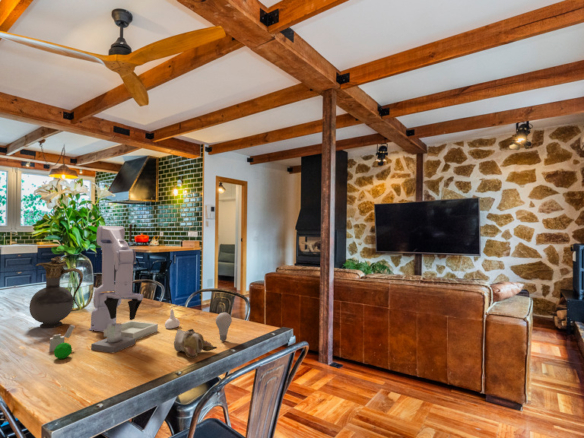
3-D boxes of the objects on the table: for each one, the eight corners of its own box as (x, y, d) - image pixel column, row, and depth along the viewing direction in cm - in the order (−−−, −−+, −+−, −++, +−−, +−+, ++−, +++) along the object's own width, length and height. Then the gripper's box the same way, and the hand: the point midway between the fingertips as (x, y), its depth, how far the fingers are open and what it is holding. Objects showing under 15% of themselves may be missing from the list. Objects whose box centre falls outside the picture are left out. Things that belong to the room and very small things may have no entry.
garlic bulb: (174, 330, 144) (175, 311, 144) (161, 328, 145) (162, 310, 145) (182, 326, 150) (182, 308, 150) (169, 325, 151) (170, 307, 151)
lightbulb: (234, 339, 132) (234, 311, 132) (226, 344, 126) (226, 315, 126) (220, 337, 134) (221, 310, 134) (212, 342, 128) (212, 313, 128)
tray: (103, 337, 132) (104, 329, 132) (130, 327, 145) (130, 320, 146) (132, 341, 128) (132, 333, 128) (157, 331, 141) (157, 323, 141)
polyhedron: (68, 354, 114) (69, 339, 114) (74, 357, 111) (74, 343, 111) (51, 358, 110) (52, 343, 110) (56, 362, 107) (56, 346, 107)
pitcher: (27, 326, 145) (30, 256, 147) (79, 319, 158) (81, 255, 159) (29, 332, 137) (32, 258, 138) (83, 324, 150) (86, 256, 151)
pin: (106, 347, 121) (107, 325, 121) (113, 344, 124) (114, 322, 124) (113, 348, 120) (114, 326, 120) (120, 345, 123) (121, 323, 123)
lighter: (49, 351, 116) (50, 328, 116) (49, 350, 117) (50, 327, 117) (74, 347, 120) (74, 325, 120) (73, 346, 122) (74, 324, 122)
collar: (91, 349, 119) (91, 343, 119) (113, 340, 128) (114, 335, 128) (113, 353, 116) (113, 347, 116) (135, 343, 125) (135, 338, 125)
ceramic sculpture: (189, 321, 125) (219, 330, 117) (188, 344, 125) (217, 355, 117) (165, 328, 116) (196, 338, 108) (164, 353, 116) (194, 365, 108)
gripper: (98, 282, 122) (97, 320, 121) (135, 284, 120) (134, 322, 119) (111, 280, 129) (110, 315, 128) (146, 281, 127) (145, 317, 126)
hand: (122, 318), depth 124 cm, fingers open, 7 cm apart
